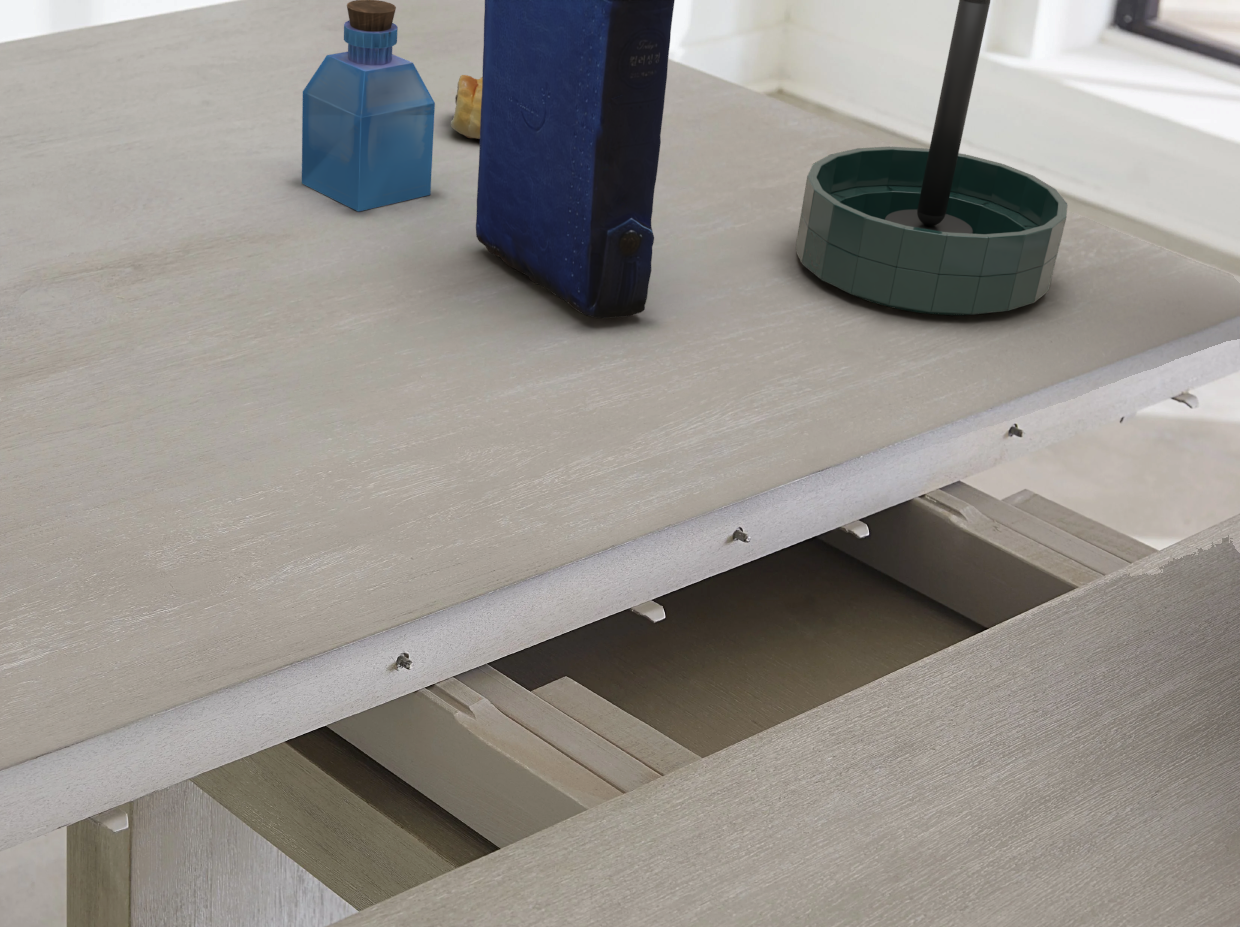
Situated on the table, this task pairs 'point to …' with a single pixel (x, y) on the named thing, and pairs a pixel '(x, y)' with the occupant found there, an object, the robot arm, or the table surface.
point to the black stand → (949, 124)
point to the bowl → (929, 233)
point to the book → (573, 144)
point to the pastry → (468, 107)
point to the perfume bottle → (368, 118)
